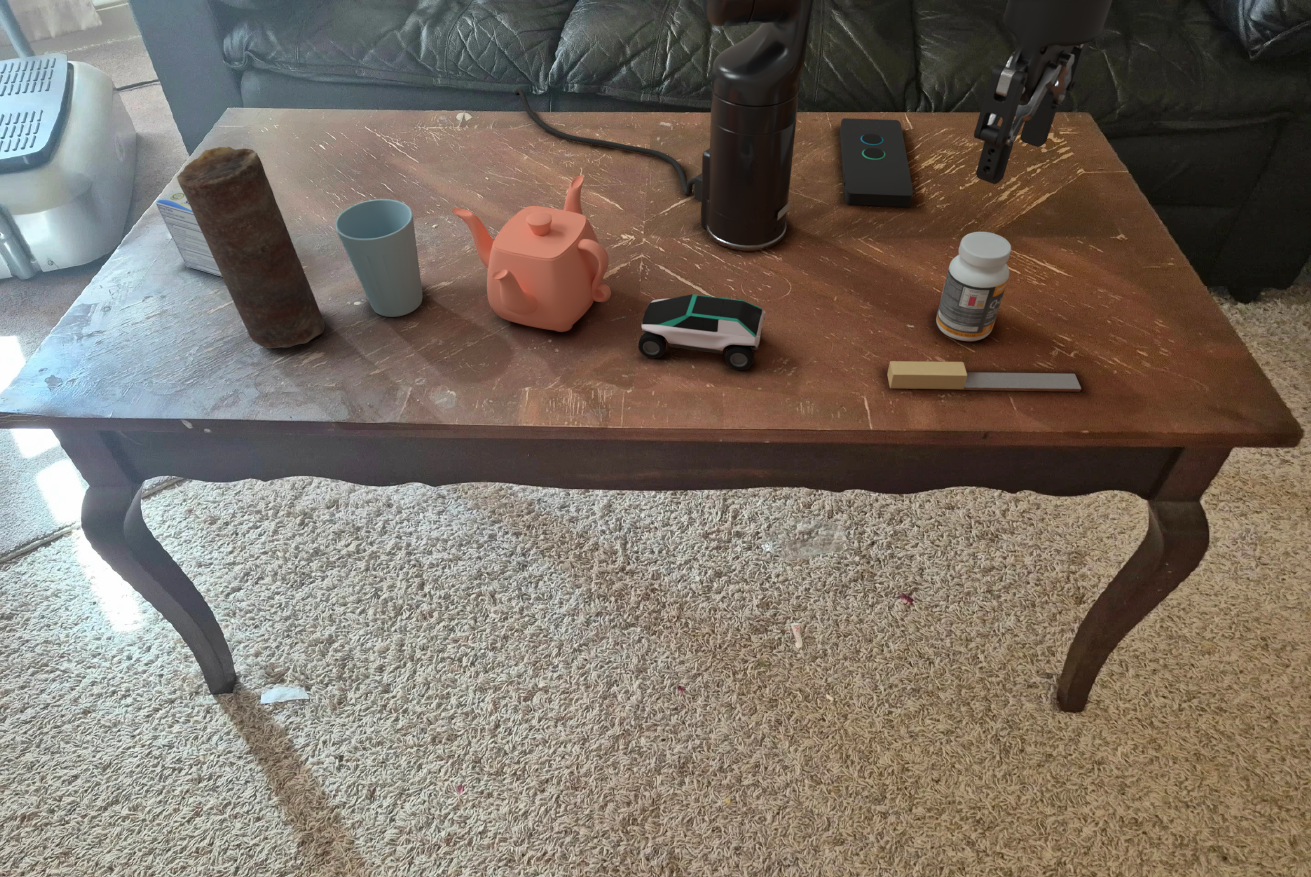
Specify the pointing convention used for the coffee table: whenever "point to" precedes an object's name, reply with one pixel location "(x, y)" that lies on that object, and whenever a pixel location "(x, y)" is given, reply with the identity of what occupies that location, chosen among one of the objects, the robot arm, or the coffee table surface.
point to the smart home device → (875, 163)
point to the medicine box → (186, 232)
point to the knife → (973, 378)
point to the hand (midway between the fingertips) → (1010, 160)
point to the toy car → (703, 327)
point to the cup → (383, 254)
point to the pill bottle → (974, 287)
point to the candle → (251, 246)
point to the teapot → (542, 264)
